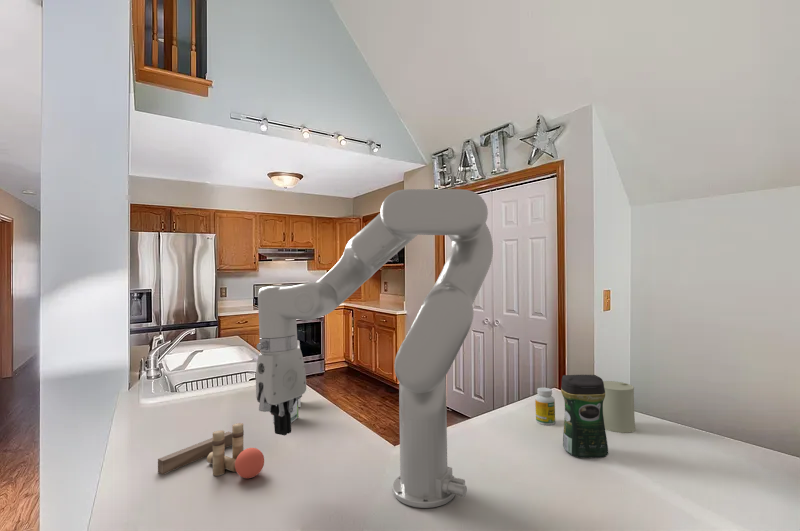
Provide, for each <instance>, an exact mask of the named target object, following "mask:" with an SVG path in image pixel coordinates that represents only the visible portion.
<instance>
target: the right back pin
mask: <svg viewBox="0 0 800 531" xmlns="http://www.w3.org/2000/svg"><path fill="white" fill-rule="evenodd" d="M231 428H232V431H231V432H232V445H231V448H232V452H231V453H232V454H231V455H232V457H231V458H233V459H237V457H238V455H239V454H240V453H241V452H242V451H243V450H245V448H244V435H245V434H244V433H245V432H244V423H241V422H239V423H234V424H232V426H231Z"/></svg>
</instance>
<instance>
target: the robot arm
mask: <svg viewBox="0 0 800 531" xmlns="http://www.w3.org/2000/svg"><path fill="white" fill-rule="evenodd" d="M488 211H489V210H488V206H487V203H486V202H485V199H484V198H483V197H482V196H481V195H479V194H478V193H476V192H475V191H473V190H469V189H462V188H454V189H453V188H452V189H451V188H449V189H448V188H447V189H443V188H440V189H436V188H431V189H430V188H427V189H426V188H425V189H424V188H423V189H421V188H415V189H414V188H412V189H411V188H410V189H406V188H405V189H399V190H395V191H394V192H391V193H390V194H388V195H387V196H386V197H385V198H384V200H383V201H382V203H381V206H380V213H378V214H377V215H376V216H375V217H374V218H373V219H371V221H370V222H368V223H367V224H366V225H365V226H364V227H363V228H362V229H360V230H359V231H358V232H357V233H356V234H354V236H352V237H351V238H350V239H349V240H348V241H347V243H346V245H345V248H344V251H343V253H342V255H341V257H340V258H339V260H338V261H337V262H336V264H334V266H333V267H332V268H331V269H330V270H329V271H328V272H326V273H325V274H324V275H323V276H322V277H321V278H320V279H318V280H316V282H305V283H300V284H295V285H271V286H270V285H269V286H268V285H267V286H263V287H261V288H259V290H258V293H257V306H258V307H257V308H258V309H257V310H258V331H259V342H258V343H257V344H256V349H257V351H259V354H257V355H258V356H257V362H256V370H255V371H256V372H255V398H256V400H257V402H258V403H259V404H258V411H259V412H264V413H265V412H268V413H270V415H272V416H273V415H274V423H273V425H274V427H273V428H274V433H275V434H276V435H281V436H287V435H288V434H290V433H292V423H291V414H290V413H292V411H293V406H294V404H295V402H296V401H297V400H298V399H301V398H302V397H303V395H304V394H305V393H306V392H307V375H306V368H305V360H304V358H303V357H304V356H303V353H302V350H301V347H300V348H298V343H297V340H298V328H297V325H298V324H297V320H298V321H312V320H316V319H319V318H321V317H324V316H327V315H329V314H330V313H332V312H334V310H336V309H337V308H338V307H339V306H340V305H342V304H343V302H345V301H346V300H347V299H348V298H350V297H351V296H352V295H353V294H354V293H355V292H356V291H358V290H359V288H360V287H361V286H362V285H364V283H365V282H367V281H368V280H370V279H371V278H372V277H373V275H375V273H376V272H377V271H379V270H380V269H381V268H382V267H383V266H384V265H385V264H386V263H388V262H389V261H390V260H391V259H392V258H393V257H395V255H397V254H398V253H399V252H400V251H401V250H402V249H404V248H405V247H406V246H407V245H408V244H409V243H410V242H412V241H413V240H414V239H415V238H416V237H417V236H418V235H420V236H421V235H423V236H425V235H426V236H448V237H449V239H450V243H451V248H450V252H449V254H448V257H447V259H446V261H445V263H444V265H443V267H442V270H441V271H440V274H439V275H438V278H437V280H436V282H435V283H434V285H433V286H432V288H431V290H430V291H429V292H428V293H427V295H426V296H425V297H424V299H423V302H422V304H421V306H420V308H419V310H418V312H417V314H416V315H415V318H414V320H413V322H412V324H411V325H410V328H409V330H408V332H407V334H406V336H405V338H404V340H403V341H402V342H401V344H400V346H399V349H398V351H397V352H396V355H395V358H394V365H393V366H394V373H395V376H396V378H397V381H398V383H399V384H398V386H399V387H398V391H399V392H398V395H399V397H398V401H399V402H398V403H399V404H398V407H399V411H398V413H399V414H398V416H399V418H398V420H399V464H400V465H399V467H400V468H399V469H400V470H399V471H400V475H399V476H398V477H397V478H395V480H394V481H393V483H392V493H393V496H394V497H395V498H396V499H397V501H399V502H400V503H401V504H404V505H406V506H409V507H413V508H418V509H419V508H420V509H431V508H436V507H440V506H444V505H446V504H448V503H450V502H451V501H452V500H453V499H454V498H455V496H456V495H457V496H460V497H463V498H464V497H466V495H467V490H468V489H467V485H466V480H465V479H464V478H461V477H460V478H458V477H455V475H453V467H452V466H448V428H447V426H448V424H447V420H448V419H447V380H446V379H447V374H448V373H449V371H450V369H451V367H452V365H453V363H454V361H455V359H456V357H457V356H458V354H459V352H460V349H461V347H462V346H463V343H464V341H465V340H466V338H467V336H468V334H469V332H470V329H471V327H472V325H473V320H474V314H475V312H474V311H475V310H474V307H473V306H474V302H475V300H476V298H477V296H478V295H479V292H480V290H481V287H482V285H483V283H484V281H485V279H486V276H487V274H488V272H489V270H490V267H491V266H492V264H491V263H492V261H493V254H494V244H493V237H492V234H491V231H490V229H489V227H488V225H487V221H488V215H489V212H488ZM276 405H277V406H276Z"/></svg>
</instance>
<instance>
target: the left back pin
mask: <svg viewBox="0 0 800 531" xmlns="http://www.w3.org/2000/svg"><path fill="white" fill-rule="evenodd" d="M224 433H225V430H223V429H222V430H221V429H220V430H216V431H214V432H212V438H213V440H212V445H213V464H212V476H214V477H219V476H222V475H223V474H225V473H226V471H225V470H226V469H225V456H226V454H225V451H226V450H225V449H226V448H225V438H224Z"/></svg>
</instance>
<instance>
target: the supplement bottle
mask: <svg viewBox="0 0 800 531" xmlns="http://www.w3.org/2000/svg"><path fill="white" fill-rule="evenodd" d="M536 394H537V395H536V396H535V397H534V398H535V400H534V402H535V404H534V405H535V421H536V423H537V424H539V425H542V426H553V425H555V424H556V403H555V398H554V396H552V394H553V390H552V389H551V388H548V387H538V388H537V393H536Z"/></svg>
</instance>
